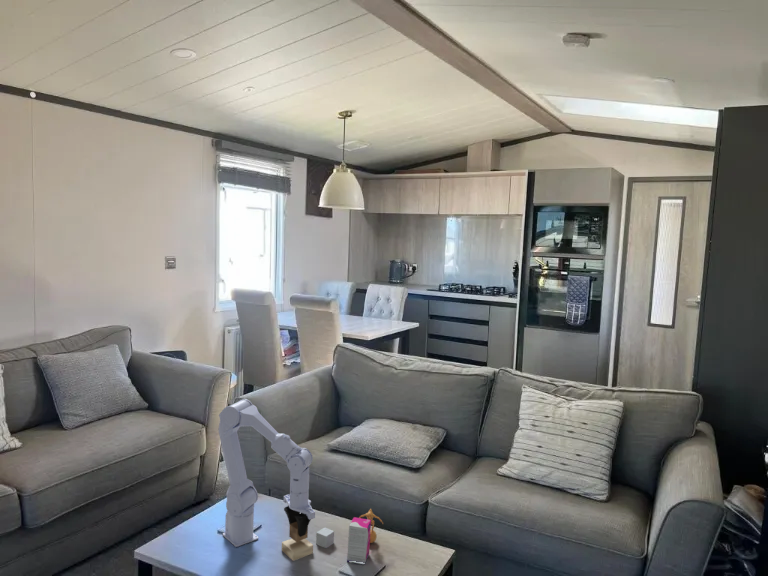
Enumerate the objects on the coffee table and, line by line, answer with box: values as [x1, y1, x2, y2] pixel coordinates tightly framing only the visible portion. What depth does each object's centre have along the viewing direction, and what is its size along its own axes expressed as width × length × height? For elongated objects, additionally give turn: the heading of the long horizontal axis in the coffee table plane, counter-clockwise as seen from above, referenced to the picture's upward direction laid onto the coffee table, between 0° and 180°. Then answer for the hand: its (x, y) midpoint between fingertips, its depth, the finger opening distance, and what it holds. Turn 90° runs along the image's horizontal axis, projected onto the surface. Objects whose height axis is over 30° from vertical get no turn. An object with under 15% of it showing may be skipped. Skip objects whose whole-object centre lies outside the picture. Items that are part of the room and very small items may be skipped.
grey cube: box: [315, 527, 335, 549], centre depth 175 cm, size 4×4×4 cm
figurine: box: [358, 508, 384, 544], centre depth 176 cm, size 8×6×12 cm
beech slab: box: [281, 538, 314, 562], centre depth 170 cm, size 7×7×3 cm
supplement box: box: [346, 516, 372, 564], centre depth 167 cm, size 6×6×12 cm
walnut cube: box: [288, 522, 309, 542], centre depth 170 cm, size 4×4×4 cm
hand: (298, 532), depth 170 cm, fingers closed on walnut cube, 4 cm apart
